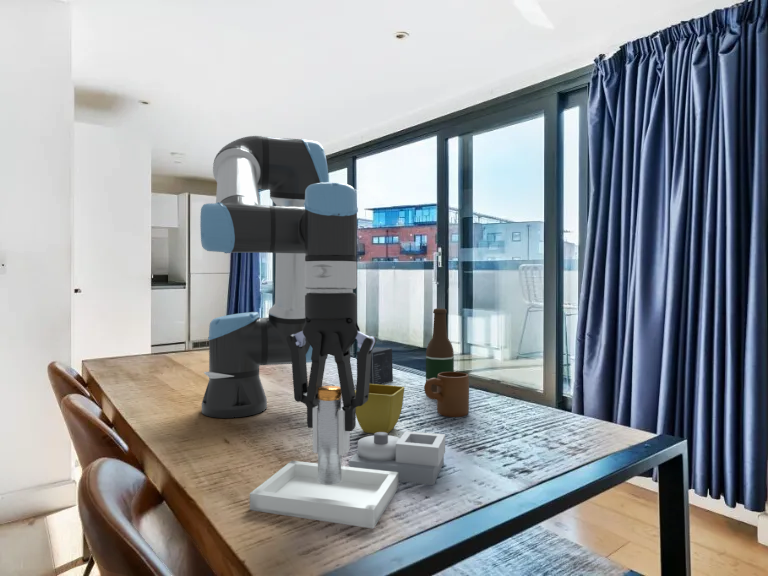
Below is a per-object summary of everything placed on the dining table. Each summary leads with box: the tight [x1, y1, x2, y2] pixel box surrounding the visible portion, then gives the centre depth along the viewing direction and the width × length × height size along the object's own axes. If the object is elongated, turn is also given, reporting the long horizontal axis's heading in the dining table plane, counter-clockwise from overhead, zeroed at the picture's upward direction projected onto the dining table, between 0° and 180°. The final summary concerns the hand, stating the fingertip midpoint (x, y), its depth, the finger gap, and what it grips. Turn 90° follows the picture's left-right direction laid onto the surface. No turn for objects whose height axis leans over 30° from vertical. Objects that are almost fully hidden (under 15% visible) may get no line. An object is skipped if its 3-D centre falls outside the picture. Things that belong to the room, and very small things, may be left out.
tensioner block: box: [348, 430, 446, 486], centre depth 85 cm, size 14×10×6 cm
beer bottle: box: [425, 307, 455, 392], centre depth 138 cm, size 8×8×24 cm
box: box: [356, 346, 394, 385], centre depth 154 cm, size 11×7×10 cm, turn 144°
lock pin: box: [317, 385, 343, 485], centre depth 73 cm, size 3×3×13 cm
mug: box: [423, 371, 470, 418], centre depth 119 cm, size 12×8×9 cm, turn 121°
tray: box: [249, 460, 399, 529], centre depth 73 cm, size 18×13×2 cm
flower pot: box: [355, 384, 406, 434], centre depth 106 cm, size 9×9×9 cm
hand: (331, 450), depth 74 cm, fingers closed on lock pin, 3 cm apart
